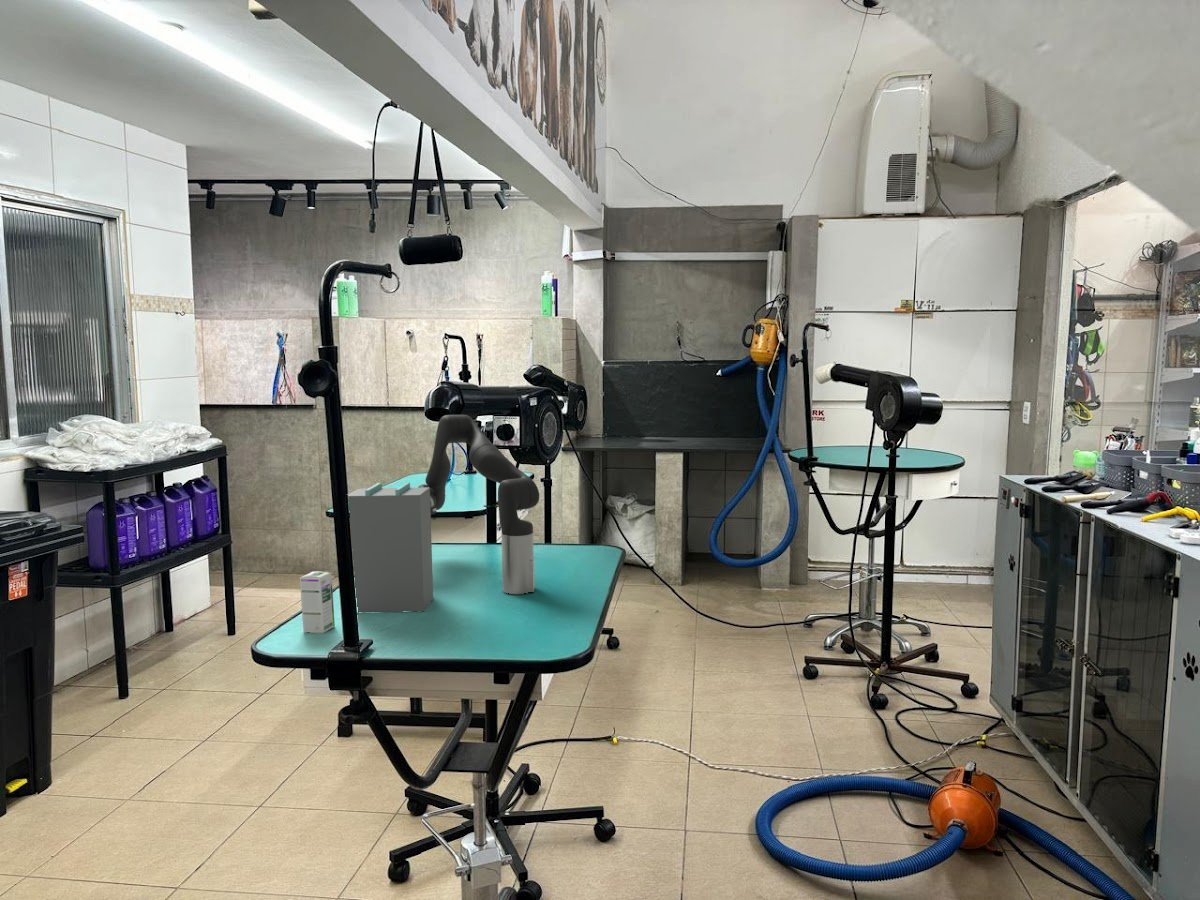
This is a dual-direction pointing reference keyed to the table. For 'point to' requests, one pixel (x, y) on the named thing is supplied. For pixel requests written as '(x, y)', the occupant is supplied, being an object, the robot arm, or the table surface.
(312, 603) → the syrup box
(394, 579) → the tall grey pedestal
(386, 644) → the table surface
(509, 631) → the table surface
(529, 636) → the table surface
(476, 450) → the robot arm
